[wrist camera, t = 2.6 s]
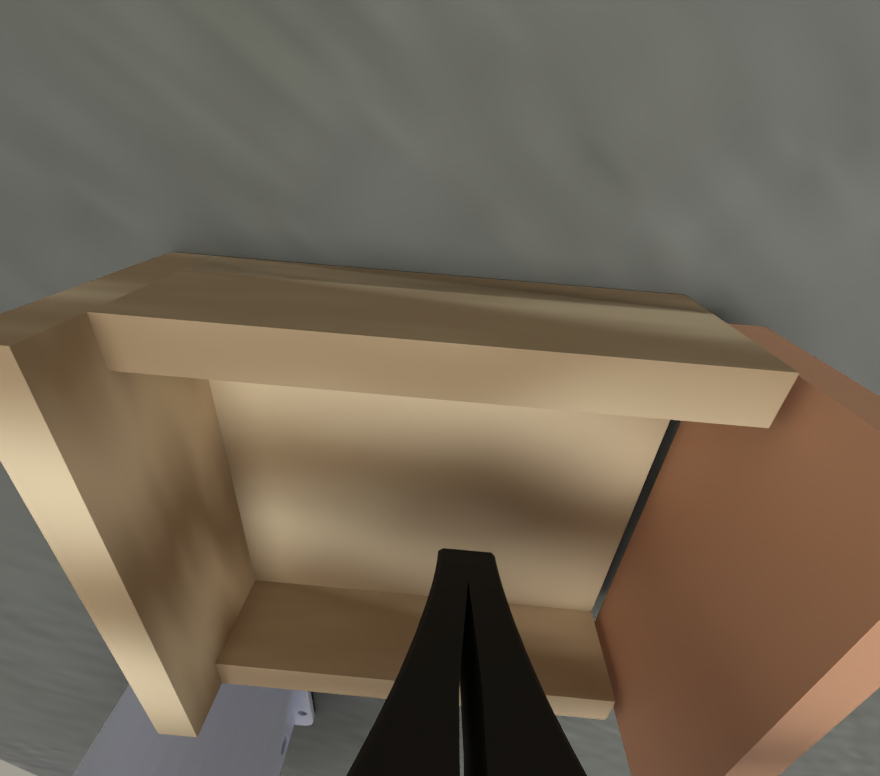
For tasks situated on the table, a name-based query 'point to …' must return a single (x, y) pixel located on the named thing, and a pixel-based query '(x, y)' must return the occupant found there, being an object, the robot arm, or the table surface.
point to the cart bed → (346, 460)
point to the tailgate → (751, 584)
